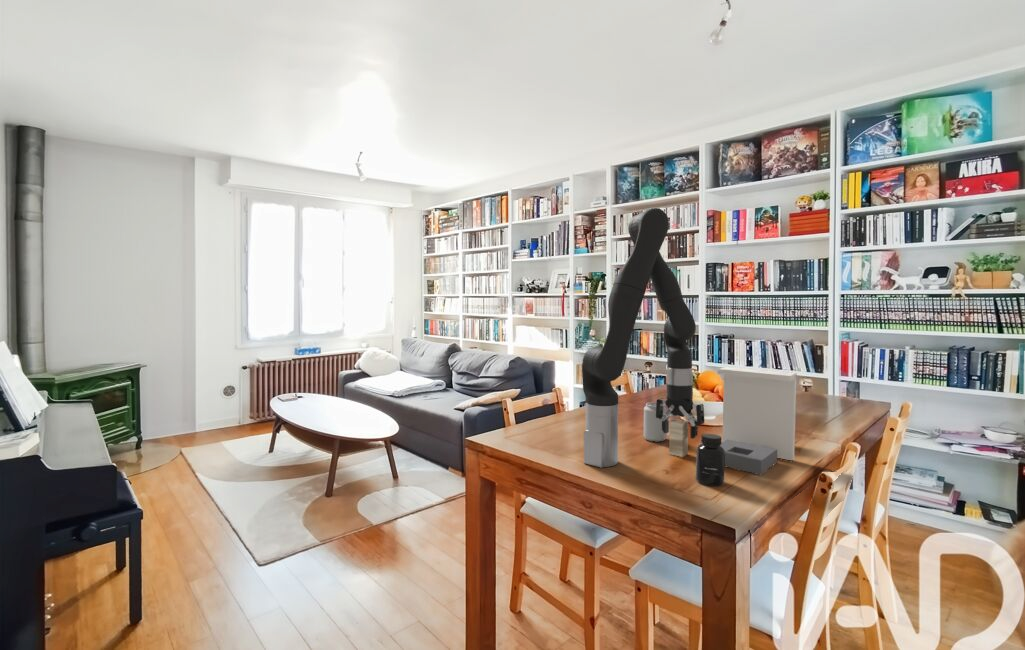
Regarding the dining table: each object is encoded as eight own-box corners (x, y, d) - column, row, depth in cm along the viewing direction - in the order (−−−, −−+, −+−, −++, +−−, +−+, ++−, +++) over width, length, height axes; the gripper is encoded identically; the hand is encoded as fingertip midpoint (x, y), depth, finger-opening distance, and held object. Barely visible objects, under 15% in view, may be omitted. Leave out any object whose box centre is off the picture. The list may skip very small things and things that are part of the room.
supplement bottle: (707, 488, 124) (708, 440, 123) (690, 478, 131) (691, 433, 130) (730, 485, 126) (731, 438, 125) (712, 476, 132) (713, 431, 132)
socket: (761, 475, 133) (761, 460, 133) (708, 463, 142) (709, 449, 142) (777, 462, 143) (777, 448, 143) (727, 452, 153) (727, 439, 152)
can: (664, 436, 170) (664, 401, 170) (668, 442, 163) (669, 406, 162) (641, 435, 171) (642, 401, 170) (645, 442, 164) (645, 406, 163)
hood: (787, 465, 140) (790, 375, 139) (716, 451, 154) (717, 368, 153) (794, 460, 145) (796, 373, 144) (724, 446, 159) (725, 366, 157)
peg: (681, 457, 148) (682, 424, 147) (669, 454, 151) (669, 421, 150) (687, 454, 151) (688, 421, 150) (675, 451, 154) (675, 419, 153)
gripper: (651, 381, 152) (651, 434, 153) (697, 386, 142) (697, 442, 143) (663, 378, 157) (663, 428, 158) (708, 383, 148) (707, 436, 149)
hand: (679, 435), depth 151 cm, fingers open, 8 cm apart
